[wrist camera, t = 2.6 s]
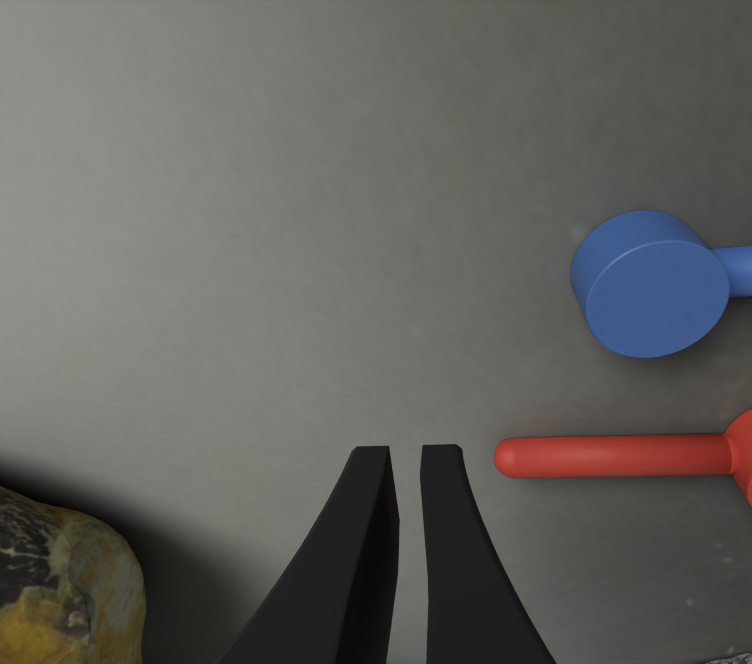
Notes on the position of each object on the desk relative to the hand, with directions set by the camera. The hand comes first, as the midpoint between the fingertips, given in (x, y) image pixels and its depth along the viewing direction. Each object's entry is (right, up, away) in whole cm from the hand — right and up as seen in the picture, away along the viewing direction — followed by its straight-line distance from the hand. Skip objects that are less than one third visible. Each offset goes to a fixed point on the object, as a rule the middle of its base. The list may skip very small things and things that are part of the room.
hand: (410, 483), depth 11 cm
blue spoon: (+10, +5, +6) cm, 13 cm away
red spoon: (+10, -1, +10) cm, 14 cm away
